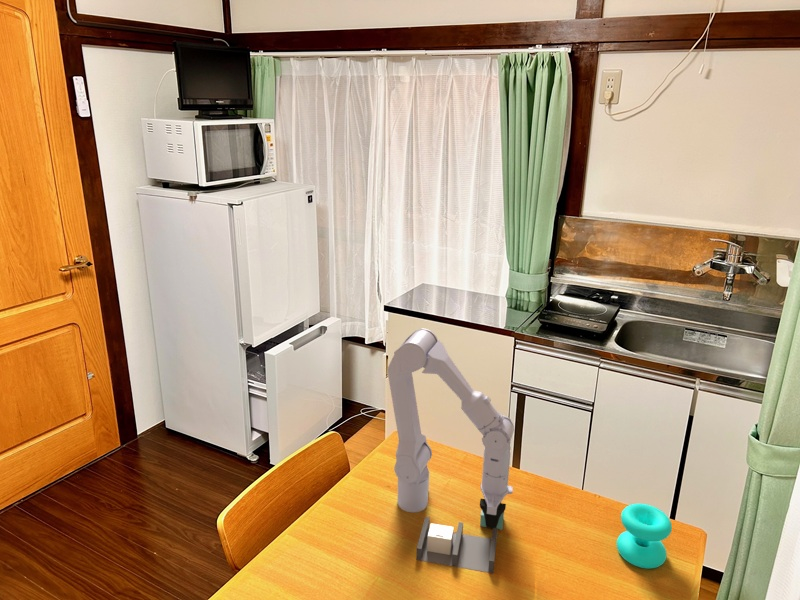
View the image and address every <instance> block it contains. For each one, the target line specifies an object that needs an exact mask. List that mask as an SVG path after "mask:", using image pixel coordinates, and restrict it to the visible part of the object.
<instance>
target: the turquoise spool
mask: <svg viewBox="0 0 800 600" xmlns="http://www.w3.org/2000/svg"><path fill="white" fill-rule="evenodd" d="M620 520H621V524H622V525H623V527H624V529H626V530H625V531H623V532H621V533H620V535H619V536H618V537H617V539H616V549H617V550H618V553H619V555H620V556H621V557H622V558H623V559H624V560H625V561H627V562H628V563H629V564H631V565H633V566H636V567H638V568H641V569H655V568H656V569H657V568H658V567H660V566H663V564H665V561H666V559H667V550H666V547H665V545H664V543H663V542H662V541H663V540H666V539H667V538H668V537H669V536H670V535H671V534H672V530H673V526H672V522H671V519H670V517H668V515H667V514H666V513H665V512H664V511H662V510H660V509H659V508H657V507H656V506H653V505H650V504H647V503H646V504H645V503H633V504H629V505H627V506H625V508H623V510H622V511H621V515H620Z"/></svg>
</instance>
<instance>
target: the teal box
mask: <svg viewBox="0 0 800 600" xmlns="http://www.w3.org/2000/svg"><path fill="white" fill-rule="evenodd" d="M504 515H505V511H504V512H503V513H502V514H501V516H500V518H499V521H498V524H497V527H496V528H498V530H503V526H504V518H505V517H504ZM479 525H480V527H484V528H487V527H486V523H485V517H484V513H483V511H482V509H481V511H480V522H479Z"/></svg>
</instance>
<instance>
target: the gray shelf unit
mask: <svg viewBox="0 0 800 600" xmlns="http://www.w3.org/2000/svg"><path fill="white" fill-rule="evenodd" d="M430 519H431V517H429V516H425V517H424V520H423V524H422V528H421V531H420V534H419V539H418V542H417V546H416V552H415V553H416V559H415V561H420V562H425V563H426V562H427V563H432V564H438V565H442V566H444V565H445V566H447V567H448V566H450V567H455V568H460V569H465V570H471V571H477V572H483V573H489V574H494V570H495V558H496V549H497V542H498V541H497V540H498V530H499V529H498V528H492V534H491V538H490V537H489V538H488V537H483V536H478V535H471V534H465V533H464V522H460V521H459V522H458V524H457V528H456V529H457V530H456V532H454V531H453V544H452V549H451V554H450V555H447V554H441V553H436V552H430V551H427V539H428V532H429V529H430V525H431V522H430Z"/></svg>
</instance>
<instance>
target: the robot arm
mask: <svg viewBox="0 0 800 600" xmlns="http://www.w3.org/2000/svg"><path fill="white" fill-rule="evenodd" d="M440 340H441V339H438V337H437V335H436V334H435V333H434V332H433V331H432V330H430V329H428V328H425V327H424V328H418V329H417V330H414V332H412V333H411V334H410V335H409V336H408V337H407V338H406V339H405V340H404V342H403V343H402V344H401V345H400V346H399V347H398V348H397V349H396V350H395V351H394V353H393V356H392V358H391V360H390V363H389V364H388V366H387V376H388V383H389V389H390V395H391V400H392V406H393V412H394V419H395V420H394V421H395V424H396V425H395V426H396V430H397V431H396V432H397V436H398V444H397V448H396V452H395V459H396V460H395V461H396V462H395V464H394V475H396V477H397V506H398V507H399V509H401V510H403V511H405V512H407V513H419V512H421V511H424V510H425V509H426V508H427V507H428V503H429V502H428V501H429V500H428V499H429V491H430V490H429V489H430V488H429V487H430V471H429V468H428V463H429V461H430V460H431V459H432V456H433V451H432V447H430V445H429V444H428V442H427V436H426V435H425V434H422V430H421V424H420V418H419V410H418V405H417V404H418V403H417V398H416V397H417V396H416V392H415V384H414V378H413V373H414V372H417V371H419V370H421V369H422V368H423V370H422V371H421V373H422V374H426V375H427V374H430V375H431V374H433V375H438V377H439V378H440V379H441V381H443V382H444V383H445V384H446V385H447V386H448V388H449V389H450V390H451V391H452V392H453V393H454V394H455V395H456V397H458V399H459V400H460V401H461V407H460V408H461V411H463V413H464V414H465V415H466V417H467V418H468V419H469V421H470V422H471V423H472V424H473V425H474V426H475V428H476V429H477V431H479V433H480V434H481V435H482V437H481V442H482V445H483V447H484V451H483V463H482V476H481V483H480V490H481V493H482V495H483V498H480V499H479V507H480V509H481V510H482V511H483V513H484V517H485V523H486V527H485V528H488V529H493V528H496V527H497V524H498V521H499V518H500V516H501V514H502V513H503V512H504V513H505V510H506V508H507V506H506V505H507V504H506V503H502V502H503V500H504V499H505V497H506V496H507V495H512V494H513V489H514V487H513V486H511V485H509V477H510V475H509V472H510V465H511V462H510V461H511V450H512V449H511V443H512V442H511V441H512V438H513V435H514V430H515V427H514V426H515V425H514V423H513V421H512V420H511V418H510V417H508V416H506V415H504V414H501V413H500V412H499V411H498V410H497V409H496V408H495V406H494V405H493V404H492V403H491V401H492V400H491V398H490V397H489V395H485V394H484V393H483V392H482V391H479V390H475V389H473V387H472V385H470V384H469V382H468V380H467V379H466V378H465V376H464V375H463V374H462V372H461V371H460V369H459V368H458V366H457V365H456V363H454V361H453V360H452V358H451V357H450V355H449V354H448V352H447V350H446V347H445V345H444V343H443V342H442V341H440Z"/></svg>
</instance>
